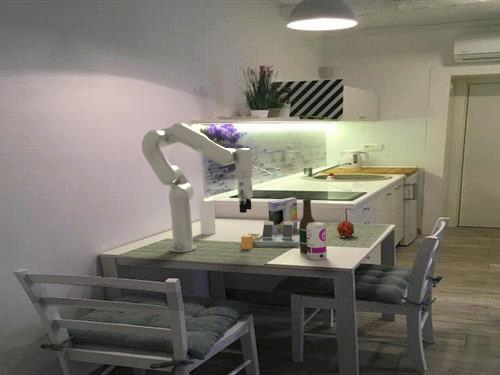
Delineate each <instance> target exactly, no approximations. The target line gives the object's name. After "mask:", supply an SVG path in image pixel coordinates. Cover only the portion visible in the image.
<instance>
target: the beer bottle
mask: <svg viewBox="0 0 500 375" xmlns="http://www.w3.org/2000/svg"><path fill="white" fill-rule="evenodd" d="M311 200H312V199H311V198H310V199H308V198H305V199H303V200H302V203H303V205H302V206H303V208H302V217H301V219H300V221H299V224H298V225H299V226H298V232H299V234H298V236H299V239H300V245H299V251H300V253H302V254H306V255H307V229H306V227H307V225H308V223H311V222H316V220H315V219H314V217H313V215H312V214H313V213H312V206H311V202H312V201H311Z"/></svg>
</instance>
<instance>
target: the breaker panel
mask: <svg viewBox="0 0 500 375" xmlns="http://www.w3.org/2000/svg"><path fill="white" fill-rule="evenodd" d="M245 235H253V247H258V248H259V247H261V248H263V247H264V248H299V247H300V239H299V235H292V239H282V237H283V234H282V235H276V234H272V239H262V237H263V233H246V234H245ZM240 246H241V247H242V243H241V242H240ZM298 246H299V247H298Z"/></svg>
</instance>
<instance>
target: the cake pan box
mask: <svg viewBox="0 0 500 375" xmlns="http://www.w3.org/2000/svg"><path fill="white" fill-rule="evenodd" d="M297 199H298V198H297V197H287V198H281V199H276V200H270V201H268V203H267V206H268V207H267V208H268V221H273V223H274V225H273V233H272V235H276V234H280V233H283V224H284V221H293V230H294V229H295V230H296V229H299V226H298V225H299V224H298V200H297Z"/></svg>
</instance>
